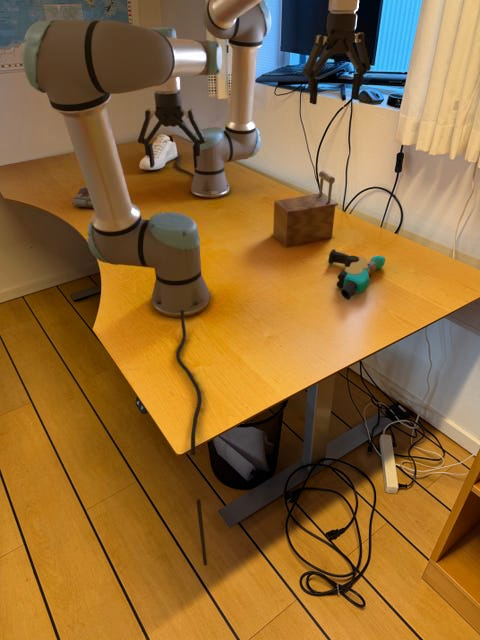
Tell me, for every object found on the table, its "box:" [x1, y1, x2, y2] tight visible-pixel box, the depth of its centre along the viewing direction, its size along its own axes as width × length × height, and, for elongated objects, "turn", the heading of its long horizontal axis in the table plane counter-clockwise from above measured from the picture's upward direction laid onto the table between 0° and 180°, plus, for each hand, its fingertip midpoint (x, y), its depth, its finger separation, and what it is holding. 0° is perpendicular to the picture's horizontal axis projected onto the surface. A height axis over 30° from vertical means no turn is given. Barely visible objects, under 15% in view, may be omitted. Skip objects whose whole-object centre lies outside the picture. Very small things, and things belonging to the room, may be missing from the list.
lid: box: [273, 170, 339, 215], centre depth 148 cm, size 18×10×9 cm, turn 112°
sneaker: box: [139, 133, 178, 171], centre depth 214 cm, size 10×29×12 cm, turn 163°
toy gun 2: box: [328, 248, 386, 301], centre depth 133 cm, size 4×26×15 cm
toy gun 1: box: [71, 186, 94, 209], centre depth 180 cm, size 4×19×15 cm
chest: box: [272, 203, 336, 248], centre depth 153 cm, size 17×10×11 cm, turn 112°
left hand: (174, 166), depth 147 cm, fingers open, 13 cm apart
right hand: (334, 101), depth 135 cm, fingers open, 13 cm apart
